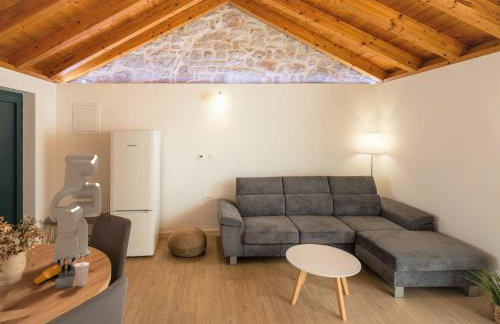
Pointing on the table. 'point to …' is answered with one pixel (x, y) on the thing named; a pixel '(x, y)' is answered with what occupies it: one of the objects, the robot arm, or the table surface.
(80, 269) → the pink drink cup
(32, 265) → the table surface
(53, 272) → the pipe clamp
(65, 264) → the peach two-stud bar
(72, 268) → the book ends
